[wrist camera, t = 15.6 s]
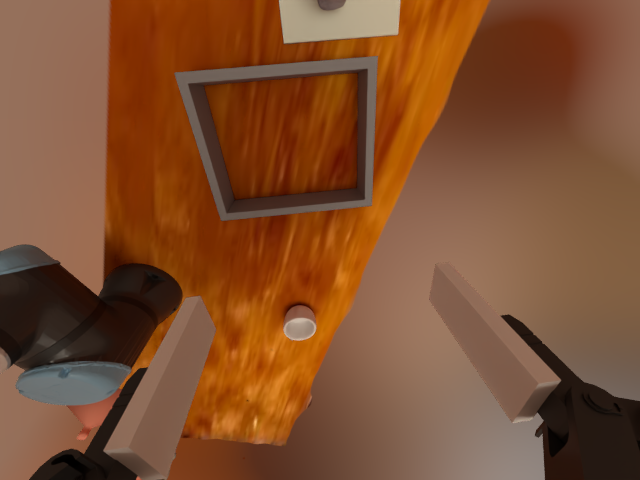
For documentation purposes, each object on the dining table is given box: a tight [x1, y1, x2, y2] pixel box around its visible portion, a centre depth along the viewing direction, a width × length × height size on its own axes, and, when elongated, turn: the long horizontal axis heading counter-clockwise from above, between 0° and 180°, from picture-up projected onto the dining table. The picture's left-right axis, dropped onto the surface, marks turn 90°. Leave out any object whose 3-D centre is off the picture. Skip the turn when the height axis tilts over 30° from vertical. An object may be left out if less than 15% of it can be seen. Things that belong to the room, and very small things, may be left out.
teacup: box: [283, 305, 316, 340], centre depth 59 cm, size 10×8×5 cm
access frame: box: [175, 56, 378, 221], centre depth 38 cm, size 25×20×6 cm
